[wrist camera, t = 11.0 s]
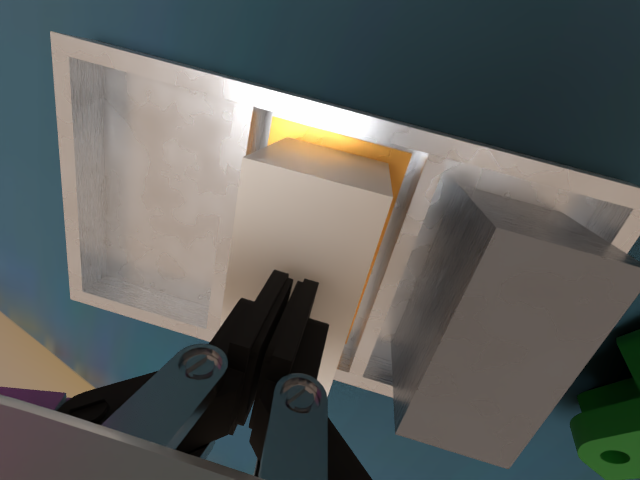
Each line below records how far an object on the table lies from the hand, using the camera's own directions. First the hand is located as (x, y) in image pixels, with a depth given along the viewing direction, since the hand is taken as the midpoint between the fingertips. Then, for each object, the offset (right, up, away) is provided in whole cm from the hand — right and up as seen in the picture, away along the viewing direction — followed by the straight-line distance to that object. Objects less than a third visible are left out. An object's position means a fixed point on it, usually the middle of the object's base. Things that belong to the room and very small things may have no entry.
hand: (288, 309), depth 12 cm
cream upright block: (+1, +2, +6) cm, 7 cm away
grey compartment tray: (+1, +3, +7) cm, 7 cm away
